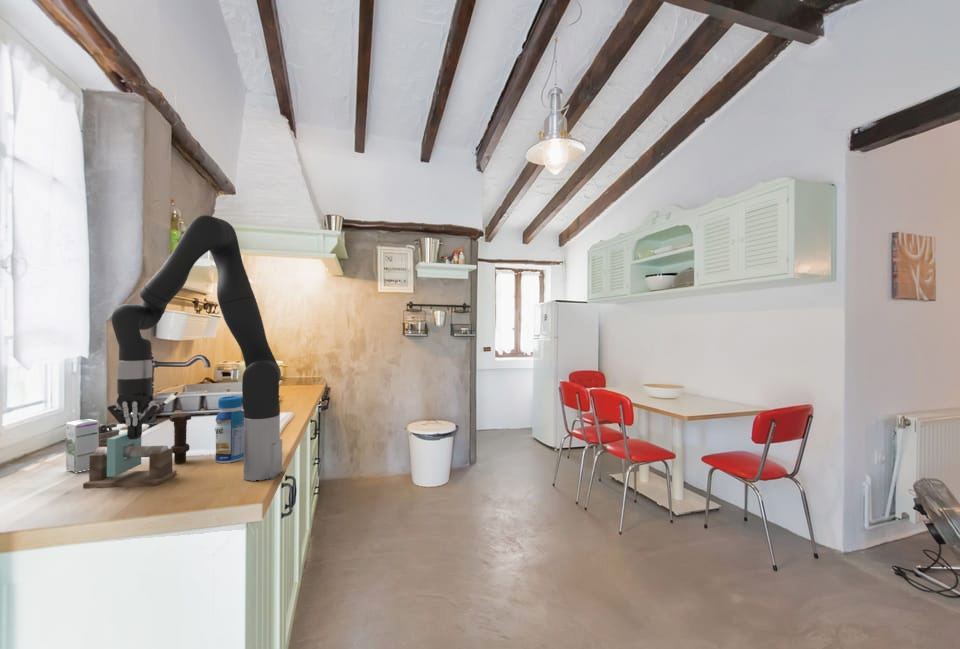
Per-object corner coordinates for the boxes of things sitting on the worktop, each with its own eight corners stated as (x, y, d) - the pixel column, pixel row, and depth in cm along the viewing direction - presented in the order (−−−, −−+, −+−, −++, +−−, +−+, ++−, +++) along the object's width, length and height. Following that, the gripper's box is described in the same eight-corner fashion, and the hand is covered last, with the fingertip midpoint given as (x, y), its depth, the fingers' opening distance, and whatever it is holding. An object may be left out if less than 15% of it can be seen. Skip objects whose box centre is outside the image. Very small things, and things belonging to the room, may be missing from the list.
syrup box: (99, 467, 127) (100, 419, 127) (74, 474, 122) (74, 424, 122) (90, 465, 129) (90, 418, 129) (64, 471, 124) (65, 422, 124)
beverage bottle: (246, 460, 134) (246, 398, 134) (214, 465, 130) (215, 400, 130) (244, 454, 141) (244, 394, 141) (214, 458, 137) (215, 396, 137)
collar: (141, 464, 122) (141, 429, 122) (114, 476, 112) (115, 438, 112) (133, 464, 121) (133, 429, 122) (106, 476, 112) (107, 439, 112)
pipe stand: (176, 474, 122) (176, 440, 122) (156, 485, 113) (156, 450, 113) (109, 475, 120) (109, 442, 120) (83, 488, 111) (83, 451, 111)
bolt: (178, 466, 129) (178, 417, 129) (164, 465, 130) (165, 416, 130) (194, 460, 134) (195, 413, 135) (181, 459, 136) (182, 412, 136)
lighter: (89, 458, 136) (89, 427, 136) (86, 456, 137) (86, 426, 137) (121, 452, 142) (121, 422, 143) (117, 450, 144) (117, 421, 144)
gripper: (169, 374, 121) (168, 434, 121) (119, 374, 120) (118, 435, 120) (151, 377, 114) (151, 442, 114) (98, 378, 112) (97, 443, 112)
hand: (134, 438), depth 117 cm, fingers closed
